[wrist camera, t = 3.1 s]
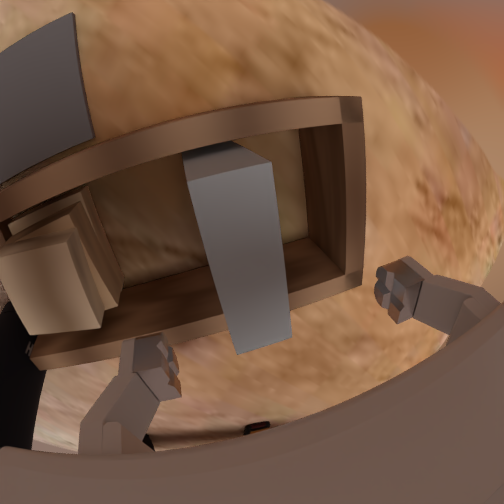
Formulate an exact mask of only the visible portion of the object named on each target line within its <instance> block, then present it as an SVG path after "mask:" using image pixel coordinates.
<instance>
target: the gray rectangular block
mask: <svg viewBox="0 0 504 504" xmlns="http://www.w3.org/2000/svg"><path fill="white" fill-rule="evenodd" d="M181 153H182V159H183V164H184V169H185V175H186V180H187V184H188V188H189V192H190V196H191V200H192V204H193V208H194V211H195V215H196V219H197V223H198V226H199V230H200V234H201V237H202V241H203V245H204V248H205V252H206V255H207V259H208V262H209V266H210V269H211V273H212V276H213V280H214V283H215V286H216V290H217V293H218V296H219V300H220V303H221V306H222V309H223V313H224V316H225V319H226V322H227V325H228V329H229V332H230V335H231V338H232V341H233V344H234V347H235V350H236V353H237V355H238V354H242V353H245V352H248V351H252V350H255V349H258V348H261V347H264V346H268V345H271V344H274V343H277V342H280V341H283V340H286V339H289V338H292V329H291V319H290V309H289V299H288V290H287V280H286V271H285V263H284V254H283V246H282V237H281V229H280V221H279V214H278V206H277V198H276V191H275V184H274V176H273V169H272V162H271V161H269V160H267V159H265V158H263V157H261V156H260V155H258V154H256V153H254V152H252V151H250V150H248V149H246V148H245V147H243V146H241V145H239V144H237V143H235V142H233V141H231V140H230V141H225V142H221V143H216V144H212V145H208V146H203V147H199V148H195V149H191V150H187V151H184V152H181Z"/></svg>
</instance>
